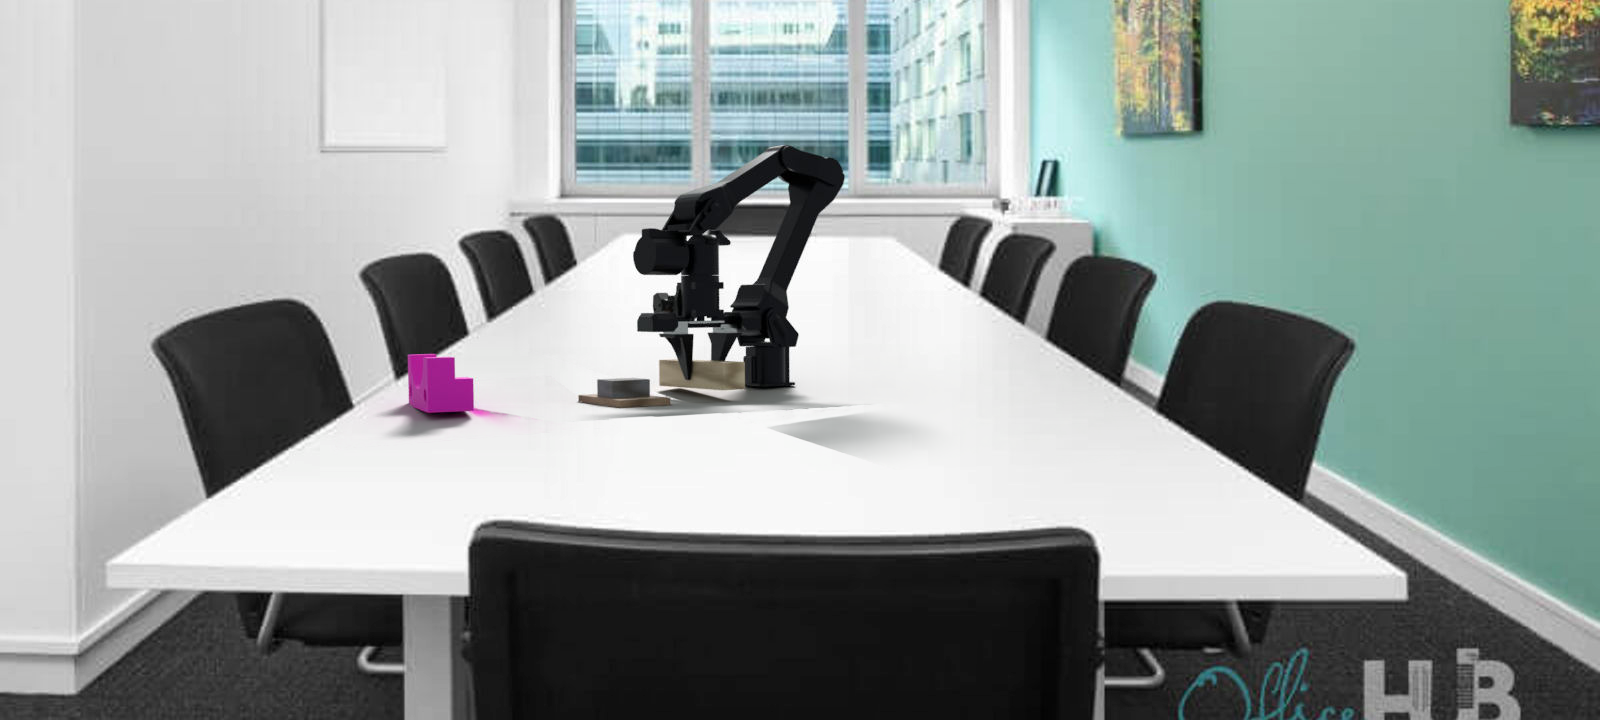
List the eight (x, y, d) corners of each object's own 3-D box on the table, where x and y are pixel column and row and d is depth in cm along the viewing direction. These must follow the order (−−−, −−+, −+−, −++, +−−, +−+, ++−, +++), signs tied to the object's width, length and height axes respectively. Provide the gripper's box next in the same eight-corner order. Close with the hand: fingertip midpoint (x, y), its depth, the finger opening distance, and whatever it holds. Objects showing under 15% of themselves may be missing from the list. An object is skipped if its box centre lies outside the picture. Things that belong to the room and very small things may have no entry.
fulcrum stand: (627, 399, 204) (627, 376, 204) (670, 404, 192) (670, 380, 192) (578, 401, 199) (578, 378, 199) (619, 407, 188) (619, 382, 188)
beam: (680, 384, 210) (680, 358, 210) (744, 389, 198) (744, 361, 198) (659, 385, 207) (659, 359, 207) (723, 390, 195) (723, 362, 195)
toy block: (473, 410, 187) (472, 356, 187) (428, 412, 185) (426, 358, 184) (451, 403, 201) (450, 353, 200) (408, 405, 198) (407, 354, 198)
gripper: (726, 276, 214) (727, 374, 215) (620, 276, 204) (621, 379, 204) (763, 275, 205) (764, 377, 205) (653, 275, 194) (655, 382, 195)
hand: (701, 379), depth 203 cm, fingers closed on beam, 4 cm apart
